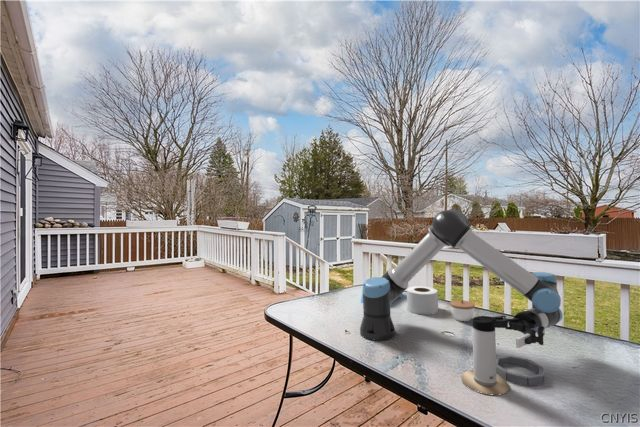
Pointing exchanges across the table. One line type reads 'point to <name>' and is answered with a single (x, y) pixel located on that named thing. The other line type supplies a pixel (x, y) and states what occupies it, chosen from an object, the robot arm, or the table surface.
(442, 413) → the table surface
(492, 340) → the travel mug
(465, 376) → the coaster
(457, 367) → the table surface
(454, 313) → the lidded jar
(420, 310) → the toilet paper roll
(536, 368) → the collar
